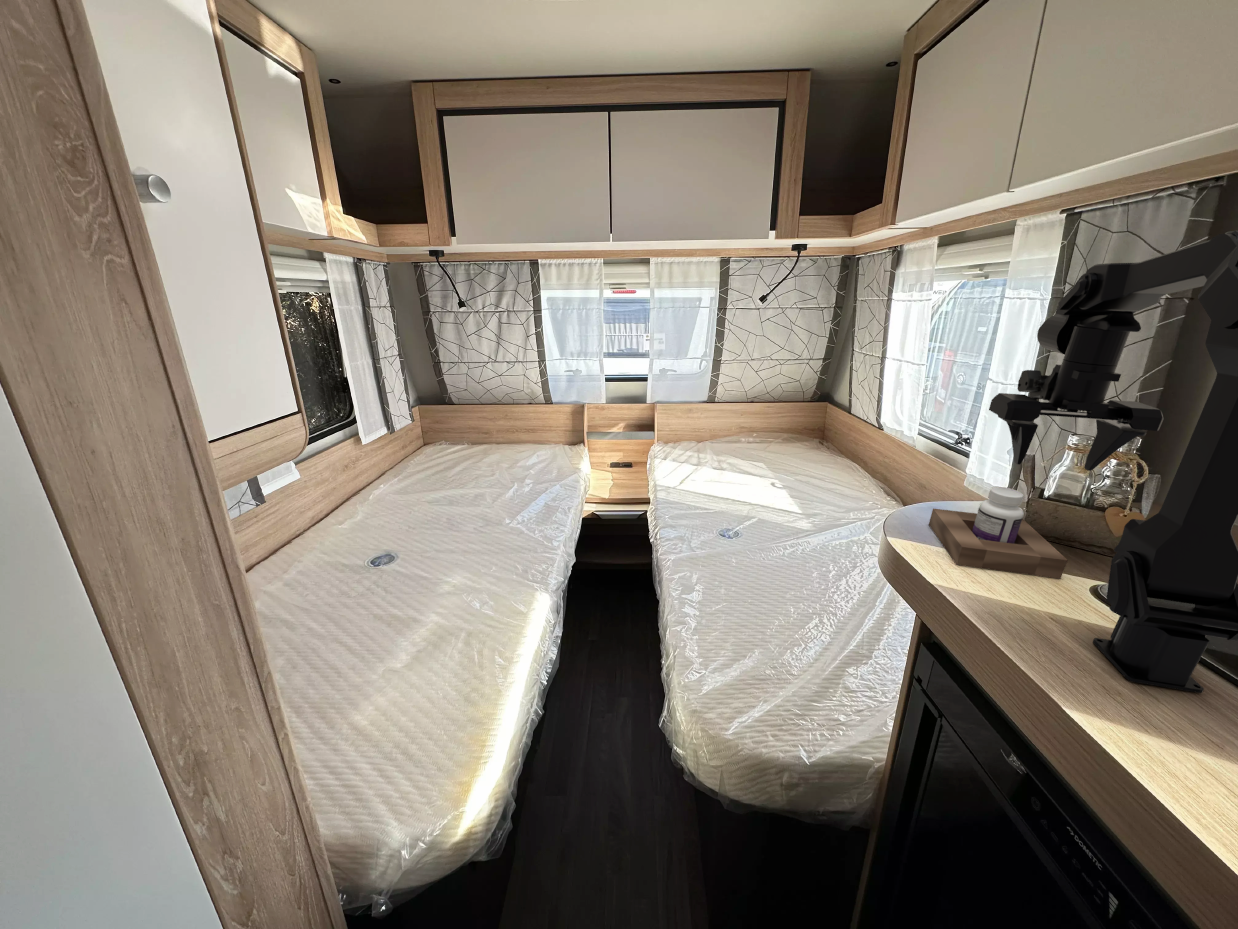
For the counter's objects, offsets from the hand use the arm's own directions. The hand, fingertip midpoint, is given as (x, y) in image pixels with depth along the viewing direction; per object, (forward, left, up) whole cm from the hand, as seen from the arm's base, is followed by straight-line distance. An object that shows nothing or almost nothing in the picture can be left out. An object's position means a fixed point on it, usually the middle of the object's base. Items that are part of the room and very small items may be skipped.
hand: (1051, 466), depth 76 cm
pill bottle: (-4, +7, -13) cm, 15 cm away
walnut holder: (-4, +7, -13) cm, 15 cm away
